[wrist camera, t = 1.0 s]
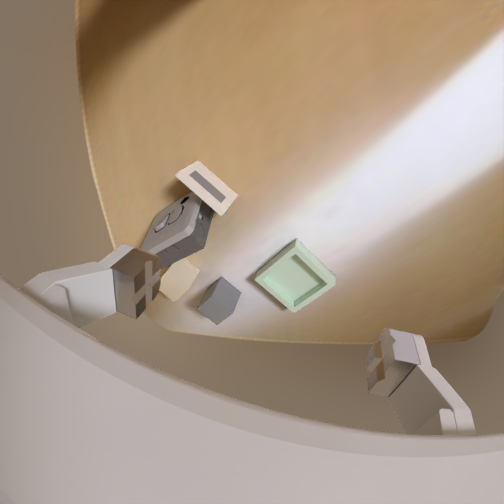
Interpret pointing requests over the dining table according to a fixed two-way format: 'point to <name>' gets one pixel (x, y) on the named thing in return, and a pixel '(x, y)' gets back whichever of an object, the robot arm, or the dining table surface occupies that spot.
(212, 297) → the grey part
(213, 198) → the label plate
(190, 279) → the beige part
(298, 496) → the robot arm
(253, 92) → the dining table surface
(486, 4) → the dining table surface
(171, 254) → the electrical switch
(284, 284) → the tray
